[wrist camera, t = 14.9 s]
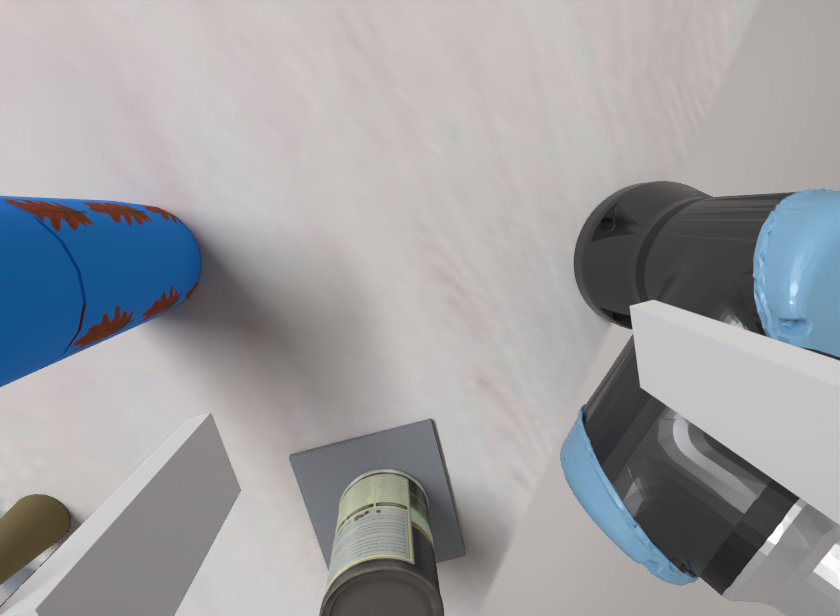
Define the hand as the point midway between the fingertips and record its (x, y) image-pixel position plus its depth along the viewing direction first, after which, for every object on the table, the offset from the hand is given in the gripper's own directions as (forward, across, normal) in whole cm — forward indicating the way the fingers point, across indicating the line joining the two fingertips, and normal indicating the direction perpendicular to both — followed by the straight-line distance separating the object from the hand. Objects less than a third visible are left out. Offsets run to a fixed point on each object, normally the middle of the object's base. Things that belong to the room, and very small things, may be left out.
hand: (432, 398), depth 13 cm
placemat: (+32, +9, +26) cm, 42 cm away
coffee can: (+31, +9, +26) cm, 42 cm away
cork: (+32, +45, +17) cm, 58 cm away
